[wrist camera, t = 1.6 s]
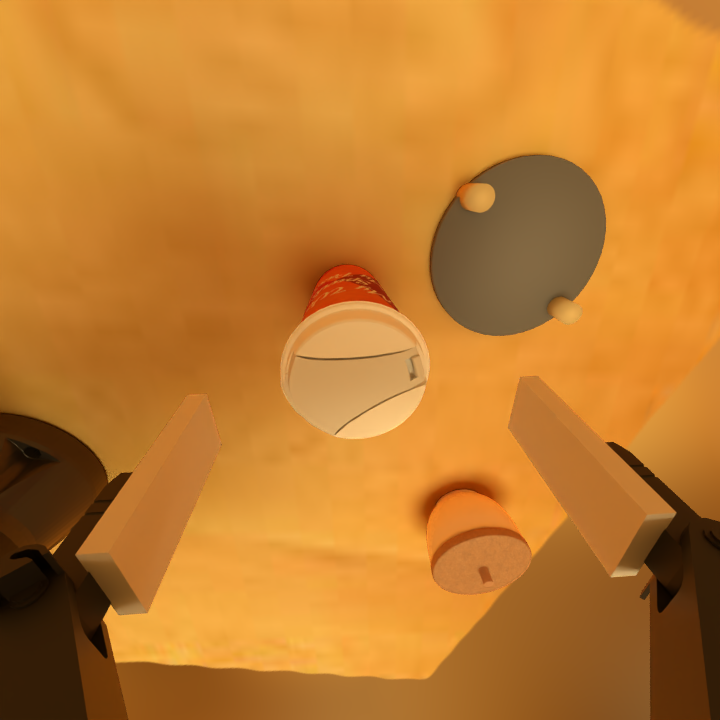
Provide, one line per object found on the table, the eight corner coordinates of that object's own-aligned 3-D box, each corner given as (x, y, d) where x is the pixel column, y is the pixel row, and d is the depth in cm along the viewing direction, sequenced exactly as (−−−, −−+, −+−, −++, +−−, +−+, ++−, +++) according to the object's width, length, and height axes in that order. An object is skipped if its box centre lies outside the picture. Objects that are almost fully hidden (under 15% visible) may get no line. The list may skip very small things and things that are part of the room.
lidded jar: (411, 533, 44) (429, 614, 36) (423, 476, 39) (447, 554, 31) (488, 531, 45) (523, 609, 37) (510, 474, 40) (555, 550, 32)
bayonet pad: (424, 336, 31) (432, 349, 28) (437, 158, 24) (449, 155, 21) (571, 328, 31) (591, 340, 29) (623, 153, 25) (656, 150, 22)
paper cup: (377, 237, 26) (417, 286, 14) (401, 322, 30) (449, 422, 18) (285, 269, 27) (244, 343, 15) (319, 349, 30) (310, 463, 18)
